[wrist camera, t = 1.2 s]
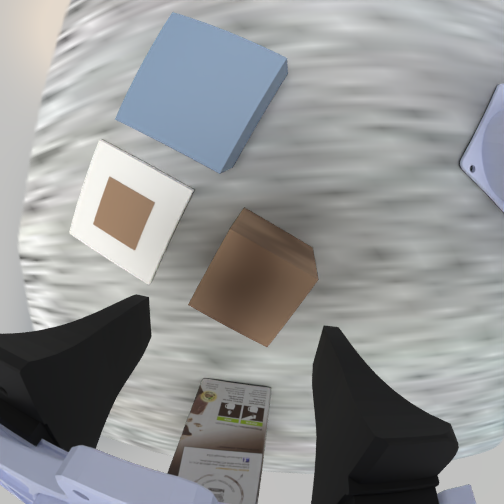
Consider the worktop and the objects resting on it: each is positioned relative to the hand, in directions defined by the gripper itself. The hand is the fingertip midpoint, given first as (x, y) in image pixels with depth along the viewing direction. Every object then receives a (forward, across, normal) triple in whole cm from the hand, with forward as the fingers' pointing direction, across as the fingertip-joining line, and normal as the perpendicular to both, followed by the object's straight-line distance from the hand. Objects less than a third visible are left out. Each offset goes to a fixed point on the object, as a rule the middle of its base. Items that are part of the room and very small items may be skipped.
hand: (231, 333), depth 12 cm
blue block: (+10, +4, -10) cm, 14 cm away
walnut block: (+10, 0, 0) cm, 10 cm away
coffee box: (+10, 0, +17) cm, 19 cm away
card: (+9, +10, -2) cm, 14 cm away
